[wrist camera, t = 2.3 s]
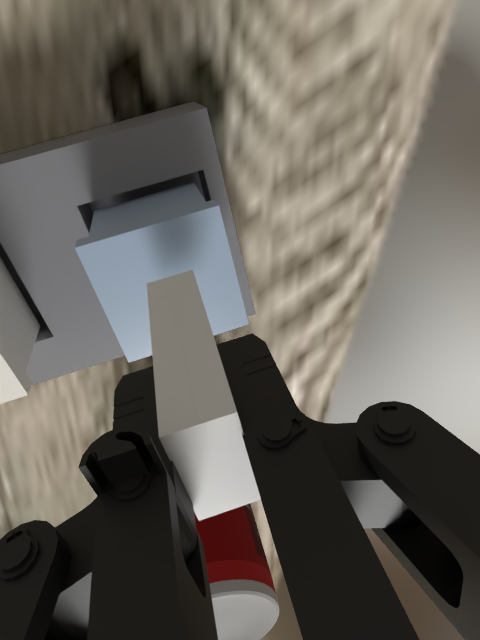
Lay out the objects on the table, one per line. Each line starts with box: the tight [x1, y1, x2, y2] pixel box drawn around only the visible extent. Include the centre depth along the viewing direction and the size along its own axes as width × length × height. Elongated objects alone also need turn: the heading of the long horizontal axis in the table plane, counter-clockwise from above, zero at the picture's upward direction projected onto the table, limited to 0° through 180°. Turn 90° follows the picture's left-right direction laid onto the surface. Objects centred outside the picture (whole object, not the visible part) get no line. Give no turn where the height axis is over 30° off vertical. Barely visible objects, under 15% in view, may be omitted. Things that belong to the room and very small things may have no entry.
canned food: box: [194, 503, 279, 640], centre depth 29 cm, size 8×8×11 cm
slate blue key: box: [75, 182, 249, 363], centre depth 18 cm, size 5×5×5 cm
